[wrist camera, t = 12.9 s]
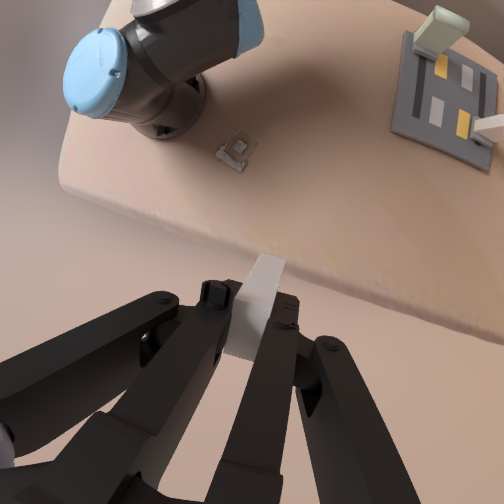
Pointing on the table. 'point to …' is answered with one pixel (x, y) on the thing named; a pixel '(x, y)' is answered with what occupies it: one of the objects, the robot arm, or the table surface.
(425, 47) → the sage lever
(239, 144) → the grey plastic bracket
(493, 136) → the white lever
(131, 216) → the table surface
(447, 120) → the switch base
